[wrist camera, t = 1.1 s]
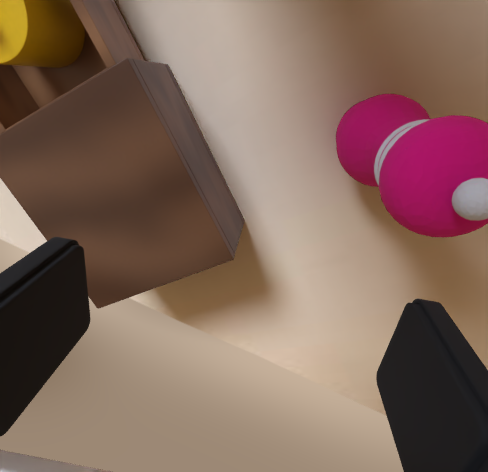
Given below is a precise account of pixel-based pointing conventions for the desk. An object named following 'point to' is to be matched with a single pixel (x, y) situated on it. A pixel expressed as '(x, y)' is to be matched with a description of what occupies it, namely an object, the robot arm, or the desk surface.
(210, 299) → the desk surface
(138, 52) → the drawer
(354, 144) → the pepper mill
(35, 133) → the cabinet
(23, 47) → the pepper
